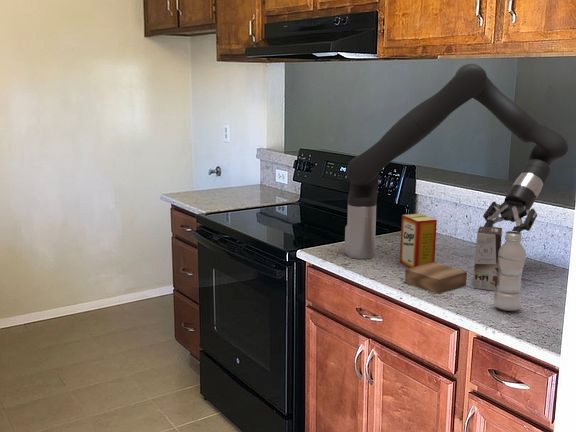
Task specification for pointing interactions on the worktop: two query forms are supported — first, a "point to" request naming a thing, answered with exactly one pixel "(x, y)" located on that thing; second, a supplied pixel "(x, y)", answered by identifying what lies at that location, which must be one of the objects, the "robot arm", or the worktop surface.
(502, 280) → the plastic bottle
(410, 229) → the baking soda box
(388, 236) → the worktop surface
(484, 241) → the coffee box
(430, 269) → the brown flat square block
